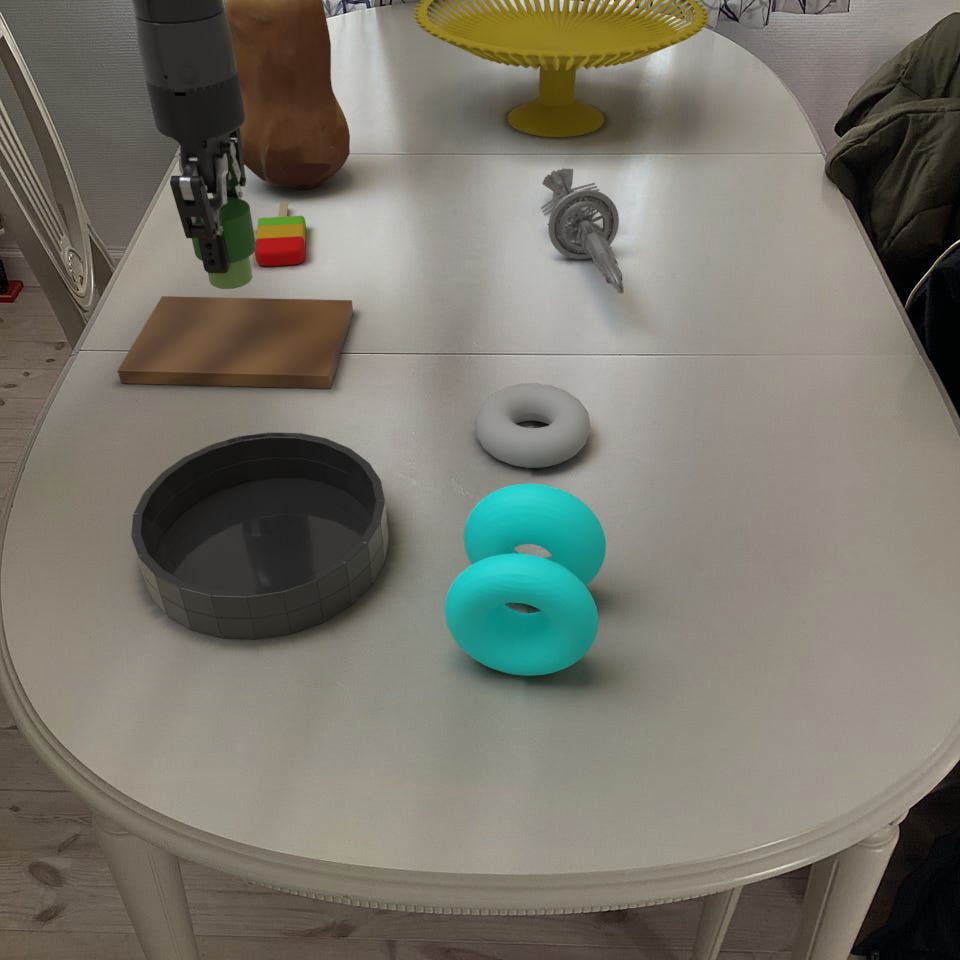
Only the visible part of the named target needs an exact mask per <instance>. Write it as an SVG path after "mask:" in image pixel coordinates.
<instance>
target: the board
mask: <svg viewBox="0 0 960 960" xmlns="http://www.w3.org/2000/svg"><path fill="white" fill-rule="evenodd" d="M353 306H354V305H353V300H352V299H315V298H314V299H313V298H310V299H309V298H262V297H218V296H217V297H214V296H213V297H211V296H173V295H171V296H170V295H169V296H167V295H166V296H165V295H162V296H161V297H160V299H159V300H158V302H157V304H156V306H155V307H154V309H153V310H152V312H151V314H150V316H149V317H148V319H147V320H146V322H145V323H144V326H143V327H142V329H141V331H140V332H139V333H138V335H137V337H136V338H135V340H134V342H133V344H132V345H131V347H130V349H129V350H128V352H127V354H126V356H125V357H124V358H123V360H122V362H121V364H120V365H119V366H118V369H117V373H118V377H119V381H120V383H121V384H130V385H131V384H133V385H141V384H142V385H169V386H171V385H172V386H174V385H176V386H177V385H178V386H208V387H209V386H211V387H212V386H213V387H214V386H217V387H252V388H253V387H256V388H257V387H258V388H262V387H263V388H287V389H288V388H289V389H290V388H293V389H294V388H295V389H297V388H298V389H328V390H329V389H331V387H332V384H333V381H334V377H335V374H336V371H337V367H338V364H339V361H340V357H341V354H342V350H343V348H344V344H345V341H346V338H347V334H348V330H349V328H350V324H351V321H352V318H353V314H354V307H353Z"/></svg>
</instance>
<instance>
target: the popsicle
mask: <svg viewBox="0 0 960 960" xmlns="http://www.w3.org/2000/svg"><path fill="white" fill-rule="evenodd" d="M278 207H279V208H278V216H274V217H273V216H272V217H259V218H258V219H257V226H256V235H255V242H256V249H255V251H254V257H255V262H256V263H257V265H258V266H261V267H277V266H279V267H280V266H294V265H299V264H302V263H303V261H304V260H305V257H306V256H305V255H306V237H307V236H306V235H307V233H306V232H307V223H306V218H305V217H304V215H290V216H288V210H289V203H288V202H287V201H281V202H279V206H278Z"/></svg>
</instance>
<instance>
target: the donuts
mask: <svg viewBox="0 0 960 960" xmlns="http://www.w3.org/2000/svg"><path fill="white" fill-rule="evenodd" d="M523 545H524V546H525V545H532V546H537V547H540V548H541V549H544V550H545V551H546V552H548V553H549V554H550V556H546V557H541V556H538V555H534V554H533V555H532V554H528V553H522V552H519V551H517V550H516V549H515V548H517V547H519V546H523ZM463 546H464V550H465V554H466V557H467V559H468V561H469V563H470V565H469V566H467V567H466V568H465V569H464V570H463V571H461V572H460V573H459V574H458V575H457V577H455V579H454V580H453V581H452V583H451V585H450V587H449V589H448V591H447V594H446V596H445V602H444V616H445V622H446V623H445V624H446V626H447V628H448V631H449V633H450V635H451V636H452V639H453V640H454V641H455V643H456V644H457V645H458V647H460V649H462V651H463V652H465V653H466V654H467V655H468V656H469V657H470V658H472V659H473V660H475V661H477V662H478V663H480V664H482V665H483V666H486V667H488V668H490V669H492V670H495V671H498V672H501V673H505V674H510V675H513V676H526V677H537V676H544V675H550V674H553V673H556V672H560V671H563V670H565V669H567V668H569V667H571V666H573V665H574V664H576V663H577V662H578V661H579V660H581V659H582V658H583V657H584V656H585V655H586V654H587V653H588V652H589V650H590V649H591V647H592V645H593V644H594V641H595V640H596V636H597V633H598V628H599V614H598V608H597V605H596V602H595V600H594V598H593V596H592V594H591V592H590V590H589V588H588V587H587V586H588V585H589V584H590V583H591V582H592V581H593V580H594V579H595V578H596V576H597V575H598V574H599V572H600V570H601V568H602V566H603V564H604V561H605V557H606V551H607V550H606V549H607V541H606V537H605V532H604V529H603V527H602V523H601V522H600V519H598V517H597V516H596V514H595V513H594V511H593V510H591V508H590V507H589V506H588V505H587V504H586V503H585V502H583V501H582V500H581V499H580V498H578V497H577V496H575V495H574V494H572V493H570V492H568V491H566V490H563V489H561V488H559V487H555V486H551V485H548V484H542V483H541V484H540V483H516V484H511V485H506V486H504V487H501V488H499V489H496V490H494V491H492V492H490V493H488V494H487V495H485V497H483V498H482V499H480V500H479V501H478V502H477V504H476V505H475V506H474V507H473V508H472V510H471V511H470V513H469V515H468V517H467V519H466V522H465V525H464V529H463ZM509 603H510V604H511V603H515V604H524V605H528V606H530V607H534V608H536V609H537V610H538V611H535V612H529V613H527V612H526V613H525V612H520V611H516V610H514V609H512V608H510V607H509V606H508V605H506V604H509Z"/></svg>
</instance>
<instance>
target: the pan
mask: <svg viewBox="0 0 960 960" xmlns="http://www.w3.org/2000/svg"><path fill="white" fill-rule="evenodd" d="M386 506H387V505H386V498H385V493H384V488H383V483H382V480H381V478H380V477H379V475H378V474H377V472H376V470H375V469H374V468H373V466H372V464H370V462H369V461H367V460H366V459H365V458H364V457H362V456H361V455H360V454H358V453H357V452H356V451H354V450H353V449H352V448H350V447H348V446H345V445H343V444H341V443H339V442H336V441H334V440H331V439H330V438H327V437H322V436H317V435H311V434H307V433H302V432H263V433H255V434H248V435H241V436H240V435H239V436H236V437H233V438H229V439H225V440H221V441H219V442H215V443H213V444H210V445H207V446H204V447H202V448H200V449H198V450H196V451H194V452H192V453H190V454H188V455H185V456H183V457H182V458H181V459H179V460H178V461H176V462H175V463H174V464H172V465H171V466H169V467H168V468H166V469H165V470H164V471H162V472H161V473H160V474H159V475H158V476H157V477H156V478H155V480H153V482H152V483H151V484H150V485H149V486H148V487H147V488H146V489H145V491H144V492H143V493H142V495H141V497H140V499H139V501H138V503H137V506H136V508H135V510H134V512H133V514H132V521H131V534H130V536H131V540H132V544H133V547H134V550H135V553H136V557H137V560H138V563H139V567H140V570H141V572H142V577H143V579H144V582H145V586H146V588H147V591H148V593H149V597H150V598H151V599H152V600H153V601H154V603H155V604H156V605H157V607H158V608H159V609H160V610H161V611H162V612H163V613H164V614H165V616H167V617H168V618H169V619H172V620H173V621H174V622H175V623H177V624H179V625H181V626H183V627H185V628H187V629H188V630H191V631H195V632H197V633H200V634H204V635H205V636H206V635H207V636H211V637H215V638H221V639H230V640H231V639H232V640H261V639H269V638H271V639H272V638H277V637H282V636H287V635H291V634H295V633H298V632H301V631H305V630H308V629H310V628H313V627H315V626H317V625H319V624H322V623H324V622H326V621H328V620H330V619H332V618H333V617H335V616H337V615H339V614H340V613H342V612H344V611H345V610H346V609H348V608H349V607H350V606H352V605H353V604H354V603H355V602H357V601H358V600H360V598H361V597H362V596H363V595H364V594H365V593H366V592H367V591H368V590H369V589H370V588H371V586H372V585H373V584H374V583H375V581H376V579H377V578H378V576H379V575H380V572H381V570H382V568H383V566H384V565H385V562H386V557H387V553H388V547H389V541H390V539H389V529H388V519H387V518H388V517H387V516H388V515H387V507H386Z"/></svg>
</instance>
